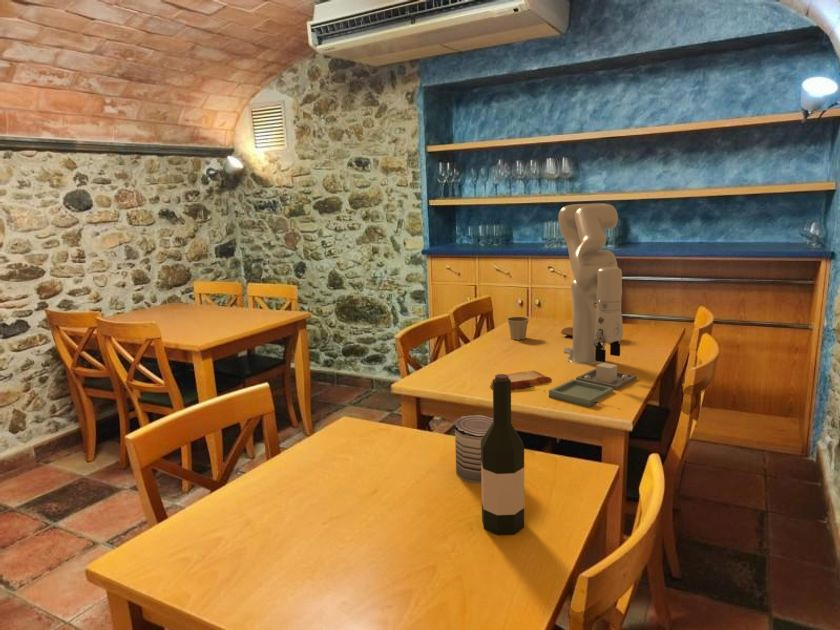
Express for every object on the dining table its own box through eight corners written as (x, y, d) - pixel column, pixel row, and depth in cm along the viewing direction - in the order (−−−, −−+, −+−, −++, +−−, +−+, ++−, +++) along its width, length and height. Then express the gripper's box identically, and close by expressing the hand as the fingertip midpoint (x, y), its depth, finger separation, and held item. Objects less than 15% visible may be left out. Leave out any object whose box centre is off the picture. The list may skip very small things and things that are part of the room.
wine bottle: (495, 540, 110) (493, 386, 103) (473, 518, 117) (470, 373, 111) (533, 529, 113) (533, 378, 107) (509, 508, 120) (509, 366, 114)
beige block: (595, 380, 194) (596, 365, 193) (602, 376, 197) (602, 362, 196) (610, 383, 190) (610, 368, 189) (616, 379, 193) (617, 365, 192)
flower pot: (507, 335, 260) (506, 316, 258) (528, 335, 259) (528, 316, 257) (507, 341, 251) (507, 321, 249) (529, 341, 250) (529, 321, 248)
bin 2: (575, 384, 194) (576, 376, 193) (597, 373, 203) (597, 366, 203) (616, 393, 184) (616, 384, 184) (636, 381, 194) (636, 374, 193)
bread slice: (486, 390, 192) (486, 379, 191) (503, 374, 207) (503, 364, 207) (541, 397, 184) (541, 385, 183) (554, 380, 200) (554, 369, 199)
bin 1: (548, 397, 183) (548, 390, 182) (572, 385, 192) (572, 379, 192) (590, 407, 173) (590, 400, 173) (613, 394, 183) (613, 388, 182)
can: (467, 457, 144) (466, 410, 142) (511, 465, 139) (511, 417, 136) (447, 477, 134) (445, 428, 132) (494, 487, 129) (494, 436, 126)
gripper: (606, 310, 180) (605, 365, 182) (632, 303, 192) (631, 355, 195) (584, 308, 185) (583, 362, 188) (610, 301, 197) (609, 351, 200)
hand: (607, 358), depth 191 cm, fingers open, 9 cm apart
